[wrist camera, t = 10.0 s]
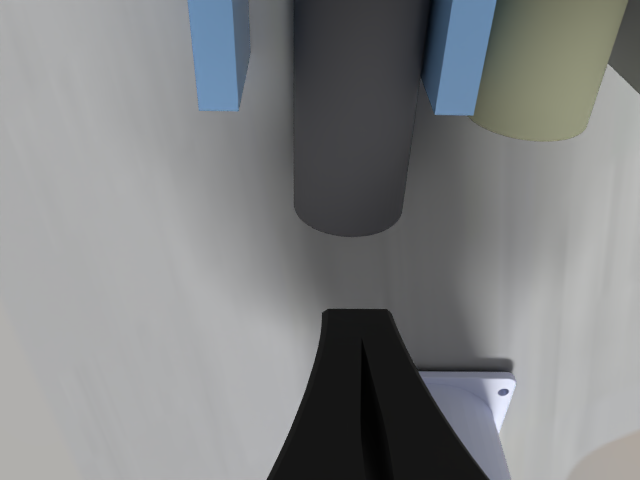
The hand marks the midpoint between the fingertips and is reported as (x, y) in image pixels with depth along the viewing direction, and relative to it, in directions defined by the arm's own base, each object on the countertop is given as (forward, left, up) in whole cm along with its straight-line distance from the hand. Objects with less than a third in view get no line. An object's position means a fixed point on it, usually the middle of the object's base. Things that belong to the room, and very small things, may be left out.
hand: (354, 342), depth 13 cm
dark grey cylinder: (+3, 0, -10) cm, 10 cm away
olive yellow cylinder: (+5, -6, -10) cm, 12 cm away
